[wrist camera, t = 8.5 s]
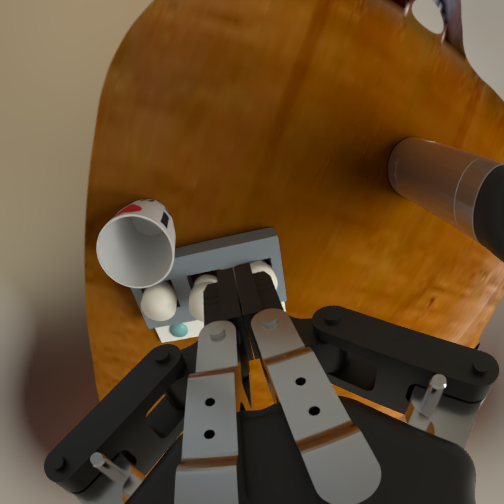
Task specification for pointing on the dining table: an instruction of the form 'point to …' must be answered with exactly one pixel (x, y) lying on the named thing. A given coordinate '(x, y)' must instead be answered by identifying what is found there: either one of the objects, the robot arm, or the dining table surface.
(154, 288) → the button
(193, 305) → the button
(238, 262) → the board
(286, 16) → the dining table surface
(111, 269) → the cup
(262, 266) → the button
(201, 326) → the strip
